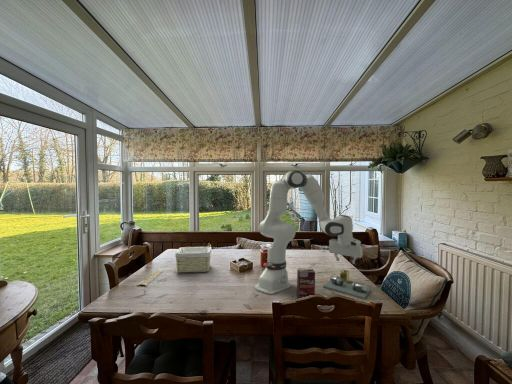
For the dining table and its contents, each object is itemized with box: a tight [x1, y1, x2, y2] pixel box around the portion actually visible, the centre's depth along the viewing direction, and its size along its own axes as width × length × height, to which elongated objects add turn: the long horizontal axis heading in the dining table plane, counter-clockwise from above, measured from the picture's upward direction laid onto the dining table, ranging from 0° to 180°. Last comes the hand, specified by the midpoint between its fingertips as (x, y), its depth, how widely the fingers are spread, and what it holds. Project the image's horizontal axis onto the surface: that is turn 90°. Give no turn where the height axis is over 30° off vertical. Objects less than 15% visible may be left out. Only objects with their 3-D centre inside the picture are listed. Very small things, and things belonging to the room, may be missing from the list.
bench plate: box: [322, 279, 371, 300], centre depth 137 cm, size 13×23×1 cm, turn 51°
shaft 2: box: [351, 281, 369, 293], centre depth 133 cm, size 8×5×4 cm, turn 51°
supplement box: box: [296, 268, 316, 299], centre depth 123 cm, size 9×5×16 cm, turn 93°
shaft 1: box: [329, 275, 344, 286], centre depth 143 cm, size 8×5×4 cm, turn 26°
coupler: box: [339, 269, 350, 284], centre depth 148 cm, size 5×4×7 cm
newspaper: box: [136, 269, 164, 287], centre depth 153 cm, size 24×7×2 cm, turn 178°
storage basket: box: [174, 246, 212, 274], centre depth 169 cm, size 24×16×15 cm
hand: (345, 262), depth 148 cm, fingers open, 8 cm apart
